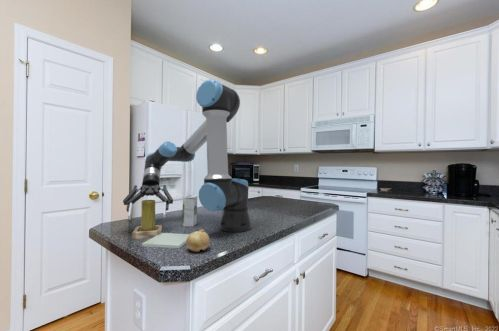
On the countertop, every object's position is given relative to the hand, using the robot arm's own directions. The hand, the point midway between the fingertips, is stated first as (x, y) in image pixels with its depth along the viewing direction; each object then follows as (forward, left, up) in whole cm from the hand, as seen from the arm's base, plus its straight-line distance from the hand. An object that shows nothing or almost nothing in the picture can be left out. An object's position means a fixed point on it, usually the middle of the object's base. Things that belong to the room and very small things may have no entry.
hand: (147, 216), depth 99 cm
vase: (0, 0, -8) cm, 8 cm away
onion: (-27, +14, -8) cm, 31 cm away
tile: (-13, +7, -7) cm, 17 cm away
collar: (0, 0, -7) cm, 7 cm away
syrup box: (-11, -18, -8) cm, 23 cm away
